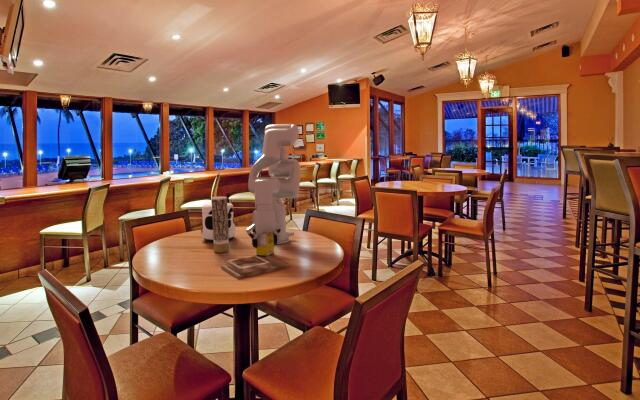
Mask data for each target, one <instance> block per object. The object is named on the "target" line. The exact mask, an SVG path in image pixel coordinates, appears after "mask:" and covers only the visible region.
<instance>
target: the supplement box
mask: <svg viewBox="0 0 640 400" xmlns="http://www.w3.org/2000/svg"><path fill="white" fill-rule="evenodd" d="M255 234H256V233H255ZM256 239H257V246H258V247H257V248H255V255H256V256H258V257H260V258H261V257H266V256H271V257H272V256H273V255H274V254H275V248H274V247H275V246H274V245H275V244H274V238H273V232H271V231H270V232H264V233H262V234H258V236H257V238H256Z"/></svg>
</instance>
